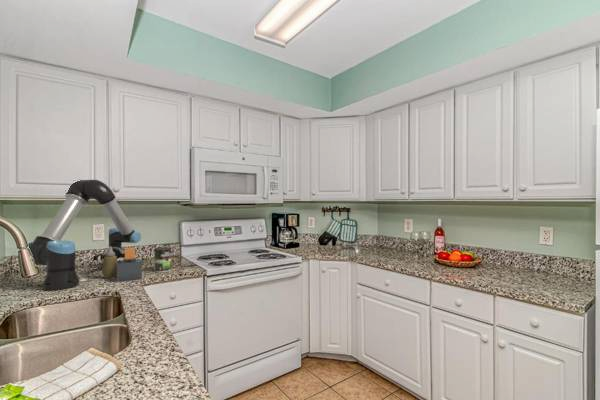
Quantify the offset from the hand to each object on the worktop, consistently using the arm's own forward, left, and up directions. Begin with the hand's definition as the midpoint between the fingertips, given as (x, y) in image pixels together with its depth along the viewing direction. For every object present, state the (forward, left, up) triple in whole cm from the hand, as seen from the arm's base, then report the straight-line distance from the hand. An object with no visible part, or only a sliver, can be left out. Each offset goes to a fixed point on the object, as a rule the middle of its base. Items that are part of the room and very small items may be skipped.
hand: (112, 259), depth 179 cm
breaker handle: (+9, -12, +1) cm, 15 cm away
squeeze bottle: (-1, -5, -10) cm, 11 cm away
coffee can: (+27, -1, -10) cm, 29 cm away
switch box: (+9, -14, -10) cm, 19 cm away
